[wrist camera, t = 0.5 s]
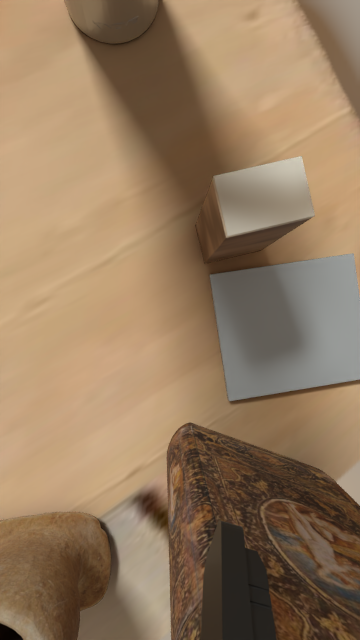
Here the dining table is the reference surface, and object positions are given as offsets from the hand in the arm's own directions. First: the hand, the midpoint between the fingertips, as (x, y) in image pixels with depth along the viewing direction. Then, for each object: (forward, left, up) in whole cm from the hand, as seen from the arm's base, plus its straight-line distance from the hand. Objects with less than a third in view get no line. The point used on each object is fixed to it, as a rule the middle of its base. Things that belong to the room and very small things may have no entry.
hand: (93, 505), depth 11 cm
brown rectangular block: (-12, +11, -23) cm, 28 cm away
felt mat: (-2, +16, -23) cm, 28 cm away
